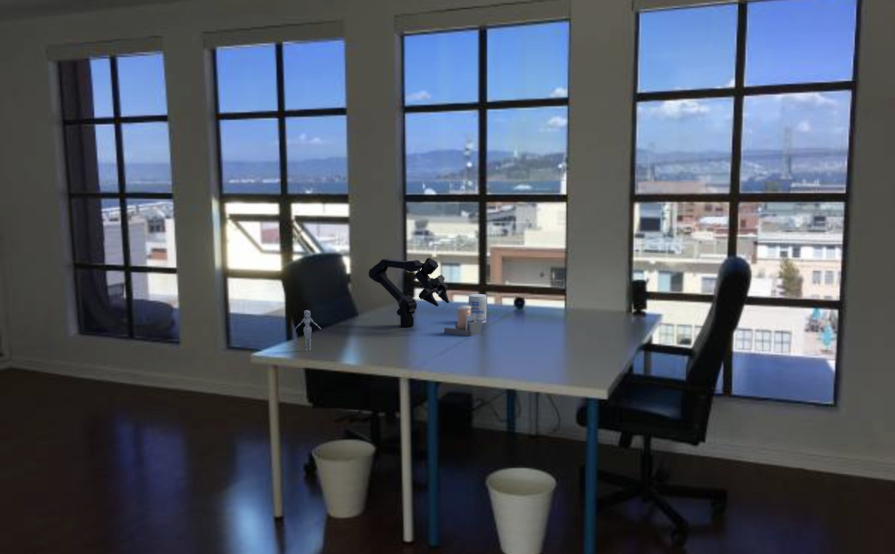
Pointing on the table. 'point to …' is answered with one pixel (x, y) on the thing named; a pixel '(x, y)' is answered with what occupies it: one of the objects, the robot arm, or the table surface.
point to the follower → (470, 320)
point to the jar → (463, 315)
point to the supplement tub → (478, 306)
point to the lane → (473, 330)
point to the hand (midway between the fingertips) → (443, 304)
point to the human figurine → (307, 327)
